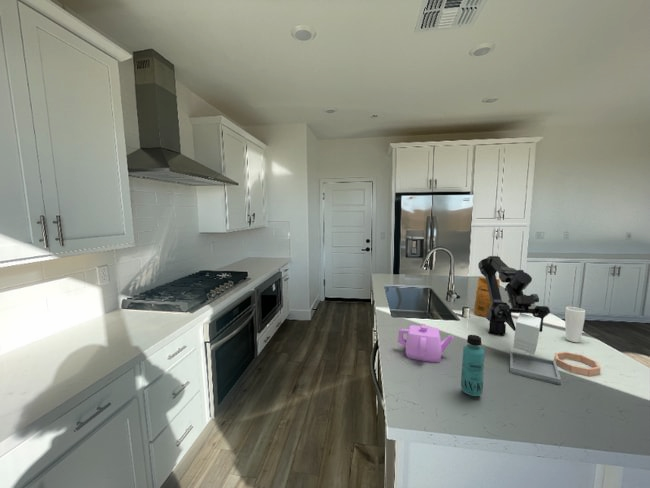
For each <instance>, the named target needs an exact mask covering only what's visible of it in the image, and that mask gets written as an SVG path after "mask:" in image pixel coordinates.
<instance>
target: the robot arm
mask: <svg viewBox="0 0 650 488" xmlns="http://www.w3.org/2000/svg"><path fill="white" fill-rule="evenodd" d="M478 269H479V271H480V274H481V275H482V276H483V277H484V278H486V282H487V287H488V291H489V295H490V300H491V305H490V307H489V311H488V312H487V313H486V317H485V318H486V320H488V321H489V325H488V327H489V329H488V334H491V335H495V336H496V335H498V336H502V337H504V336H505V334H506V330H507V329H506V328H507V325H508V326H509V328H511V329H512V331H514V332H515V329H516V324H515V322H514V319H513V316H512V313H514V314H515V313H516V314H520V313H522V314H532V316H534V317H538V318H541V325H540V331H539V333H542V332H543V327H544V326H543V325H544V319H545V317H546V316H548V315H549V314H550V313H551V310H550V307H548V306H546V305H536V306H535V307H534V308H531V307H532V305H535V304H536V303H539V302H540V298H539V295H538V294H537V293H532V294H531V293H530V295H526V294H524V291H523V290H525V289H527V288H528V286H529V285H530V283H531V282H532V279H533V278H532V276H531V275H530V274H529V273H527V272H525V271H524V269H516V268H513V267H510V266H508V264H506V263H505V262H504V261H503V260H502V259H501V257H500V256H498V255H489V256H487V257H486V258H483V259H481V260H480V261H479V262H478ZM497 273H498V278H497ZM497 279H499V280H500V281H501V283H503V284H504V283H506V285H505V288H504V291H505V292H506V293H507V296H508V300H507V301H508V303H507V302H504V301H503V299H502V296H501V295H502V294H501V291H500V287H498V283H497ZM509 303H510V305H509Z"/></svg>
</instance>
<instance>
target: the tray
mask: <svg viewBox="0 0 650 488" xmlns="http://www.w3.org/2000/svg"><path fill="white" fill-rule="evenodd" d="M509 352H510V353H509V354H510V355H509V363H510V365H509V368H510V369H509V370H510V371H509V373H510V374H514V375H517V376H522V377H526V378H530V379H535V380H538V381H542V382H547V383H551V384H554V385H558V386H559V385H560V386H561V385H562V378H561V375H560V371H559V368H558V366H557V364H556V361H555V360H553V359H548V358H544V357H538V356H534V355H530V354H524V353H520V352H516V351H515V352H514V351H509Z"/></svg>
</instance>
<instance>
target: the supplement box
mask: <svg viewBox="0 0 650 488" xmlns="http://www.w3.org/2000/svg"><path fill="white" fill-rule="evenodd" d="M518 314H519V315H518V317H517V319H516V322H515V331H514V338H513V346H512V348H514V349H516V350H519V351H522V352H525V353H528V354H531V355H533V356H534V355H535V354H536V350H537V346H538V341H539V336H540V325H541V318H538V317H534V316H533V315H529V314H527V313H518Z"/></svg>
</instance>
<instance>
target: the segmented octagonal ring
mask: <svg viewBox="0 0 650 488" xmlns="http://www.w3.org/2000/svg"><path fill="white" fill-rule="evenodd" d="M553 357H554V360H553V361H556V364H557V367H559V368H561V369H563V370H565V371H568V372H570V373H573V374H576V375H582V376H586V377H592V376H593V377H594V376H600V375H601V366H600V365H599V363H598V361H597V360H594V359H592V358H590V357H587V356H586V355H583V354H580V353H579V354H578V353H575V352H574V353H573V352H569V351H561V352H554V356H553ZM564 359H565V360H571V361H576V362H580V363H583V364H585V365H586V366H587V365H588V366H590V368H589V367H588V368H587V367H582V366H577V365H573V364H570V363H568V362H565V361H564Z"/></svg>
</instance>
